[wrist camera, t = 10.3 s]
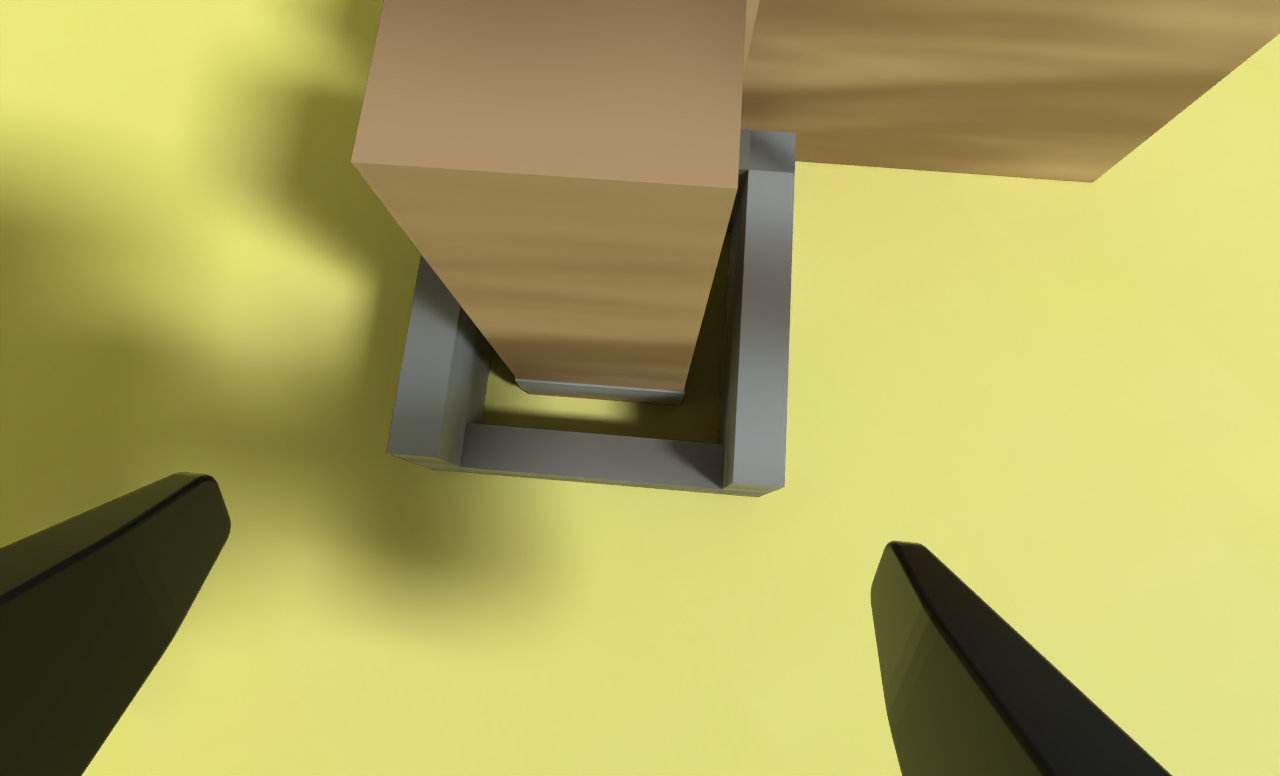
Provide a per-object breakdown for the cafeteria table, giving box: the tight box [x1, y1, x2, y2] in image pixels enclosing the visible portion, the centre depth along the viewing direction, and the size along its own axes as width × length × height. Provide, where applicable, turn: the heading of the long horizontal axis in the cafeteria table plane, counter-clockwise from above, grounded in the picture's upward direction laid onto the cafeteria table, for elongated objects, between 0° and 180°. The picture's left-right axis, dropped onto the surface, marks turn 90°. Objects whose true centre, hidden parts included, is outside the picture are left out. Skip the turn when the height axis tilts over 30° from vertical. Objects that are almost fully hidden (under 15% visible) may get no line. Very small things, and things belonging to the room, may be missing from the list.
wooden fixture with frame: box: [386, 0, 1280, 497], centre depth 15 cm, size 14×20×10 cm
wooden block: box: [351, 0, 747, 405], centre depth 14 cm, size 5×5×12 cm
